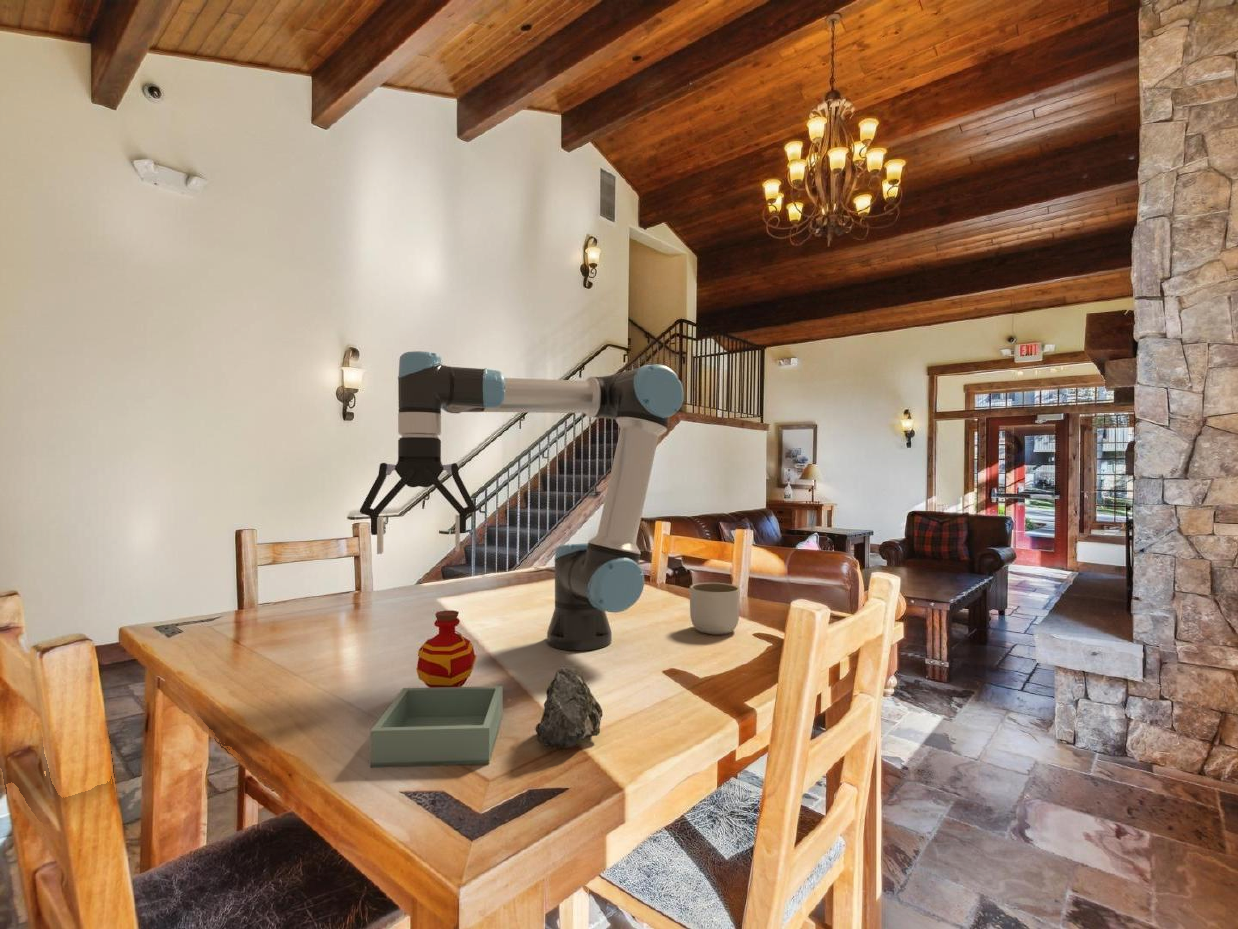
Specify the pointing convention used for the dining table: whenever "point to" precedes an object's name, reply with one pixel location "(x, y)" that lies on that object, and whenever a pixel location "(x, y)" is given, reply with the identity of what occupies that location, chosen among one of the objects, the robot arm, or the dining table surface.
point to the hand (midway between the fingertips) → (419, 551)
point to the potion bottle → (446, 654)
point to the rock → (568, 711)
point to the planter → (714, 607)
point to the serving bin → (438, 727)
